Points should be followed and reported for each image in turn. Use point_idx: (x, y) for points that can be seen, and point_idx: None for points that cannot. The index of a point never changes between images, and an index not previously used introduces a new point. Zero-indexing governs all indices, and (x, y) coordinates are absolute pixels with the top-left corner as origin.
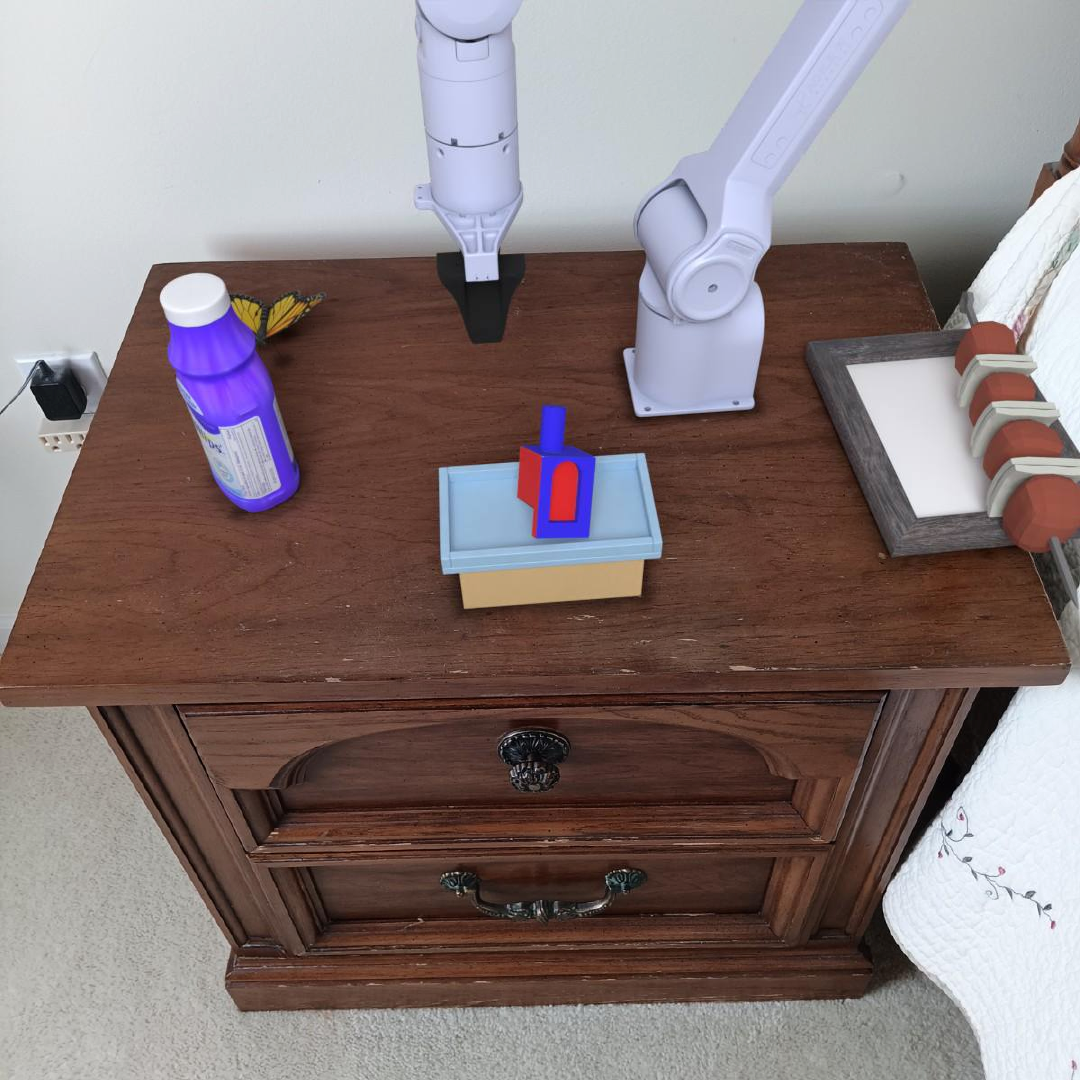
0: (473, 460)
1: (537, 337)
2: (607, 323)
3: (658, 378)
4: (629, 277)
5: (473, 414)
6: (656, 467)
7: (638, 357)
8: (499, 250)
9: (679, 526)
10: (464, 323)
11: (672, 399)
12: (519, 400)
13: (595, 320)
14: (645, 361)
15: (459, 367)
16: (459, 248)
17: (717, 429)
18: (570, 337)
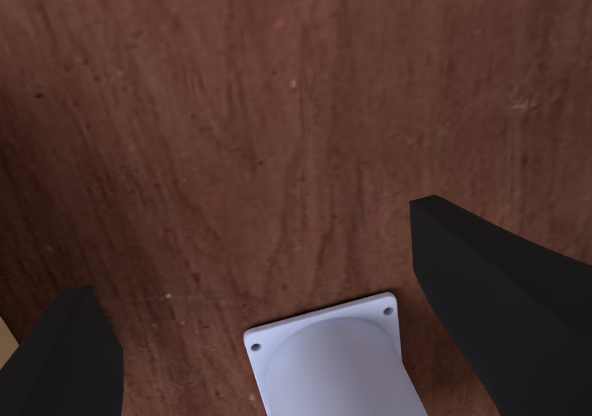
0: (79, 101)
1: (444, 154)
2: None
3: (280, 393)
4: None
5: (216, 75)
6: (143, 366)
7: (320, 371)
8: (457, 342)
9: None
10: (16, 349)
11: (267, 383)
12: (268, 155)
13: None
14: (303, 389)
15: (361, 16)
16: (467, 245)
17: (236, 412)
18: None
